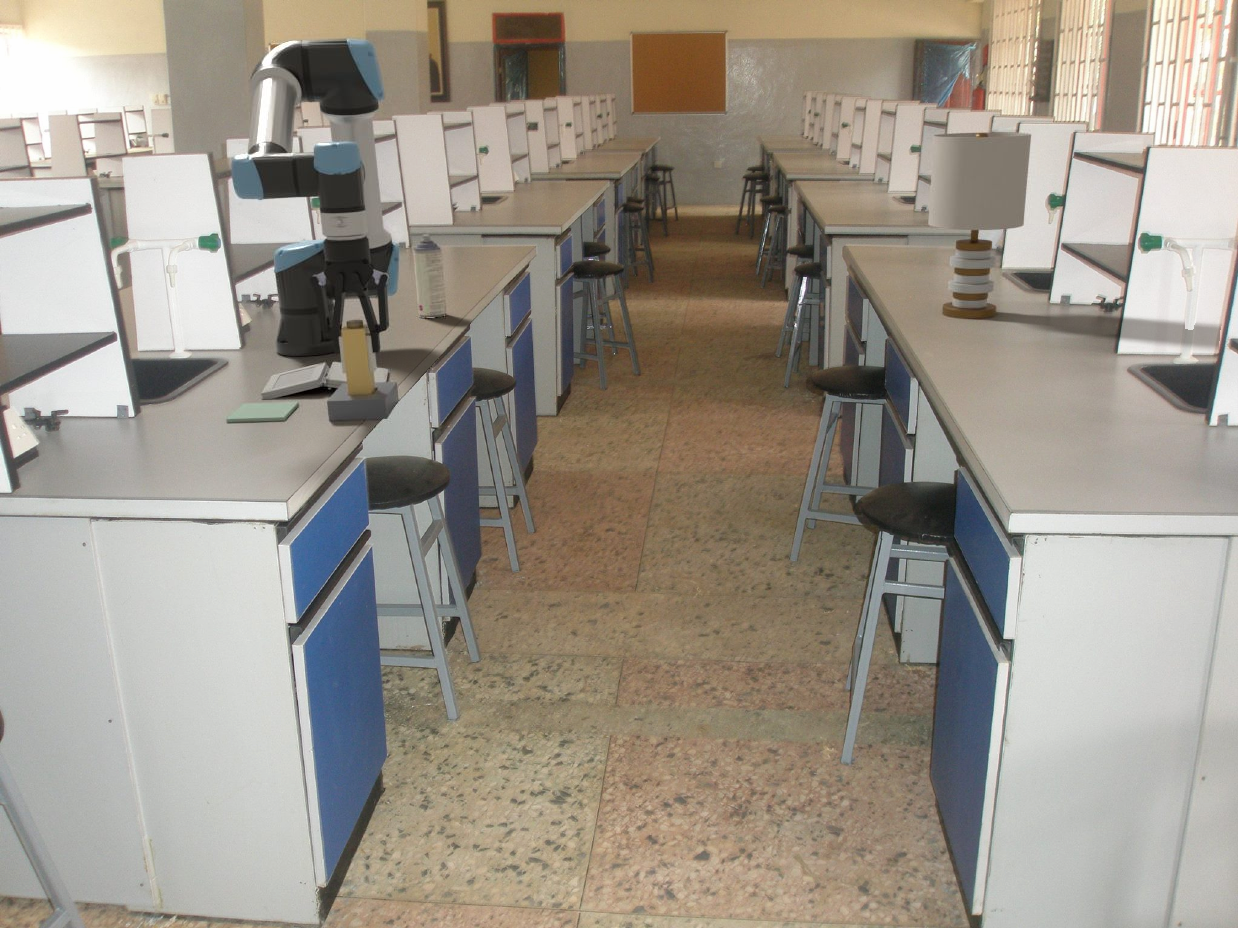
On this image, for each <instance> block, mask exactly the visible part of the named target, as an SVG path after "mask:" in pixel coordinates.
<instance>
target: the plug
mask: <svg viewBox="0 0 1238 928" xmlns="http://www.w3.org/2000/svg"><path fill="white" fill-rule="evenodd" d="M341 332H342V341H343V351H344V360H345V369H346V378H347V388H348V395H364V394H374V393H375V392H376V390H375V380H374V372H373V373H370V370H369V360H368V350H367V340H366V336H367V334H368V333H370V331H369V328H368V325H367V323H366V324H365V323H364V320H363V319H348V320H346V324H345V326H343V327H342V330H341Z"/></svg>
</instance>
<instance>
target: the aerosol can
mask: <svg viewBox="0 0 1238 928" xmlns="http://www.w3.org/2000/svg"><path fill="white" fill-rule="evenodd" d="M442 251H443V250H442V249H441V246H440V245H439V246H438V244H437V242H435V241H434V240H432V239H431V236H430V234H422V239H421V240H420V241H419V243H417V245H416V247H413V261H414V272H415V275H414V276H415V285H416V295H417V296H416V297H417V308H418V315H420V316H421V317H441V318H443V317H442V316H444V315H446V316H448V315H447V304H446V303H447V302H446V293H445V292H446V291H445V280H444V279H445V278H444V277H445V276H444V266H443V253H442Z"/></svg>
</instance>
